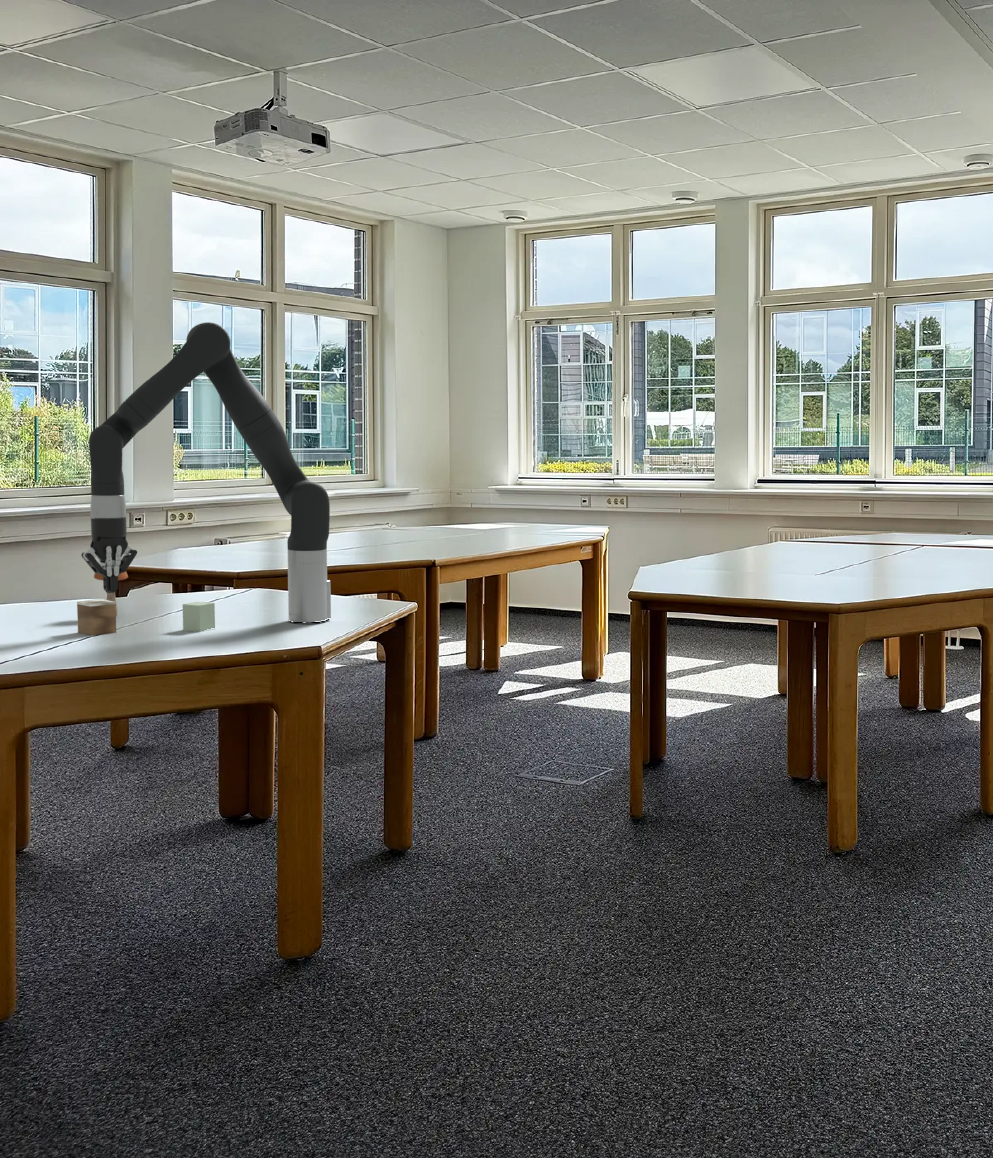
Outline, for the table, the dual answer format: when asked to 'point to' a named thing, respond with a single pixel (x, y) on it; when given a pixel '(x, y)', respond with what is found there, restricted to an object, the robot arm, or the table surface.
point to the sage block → (198, 616)
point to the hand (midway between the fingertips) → (110, 592)
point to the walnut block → (96, 617)
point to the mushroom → (112, 595)
